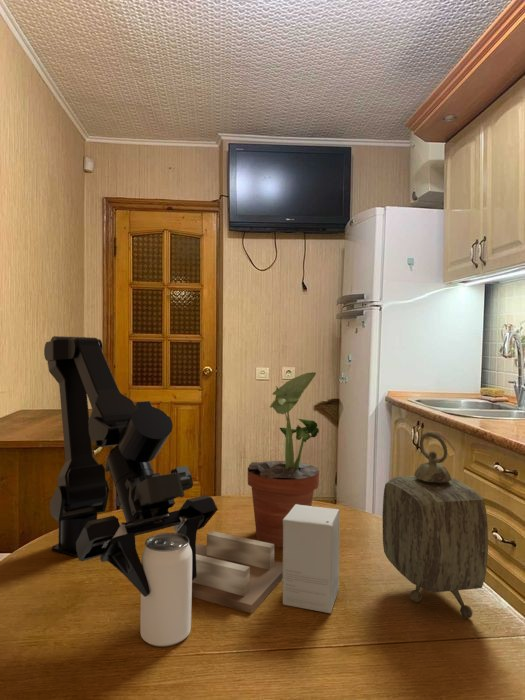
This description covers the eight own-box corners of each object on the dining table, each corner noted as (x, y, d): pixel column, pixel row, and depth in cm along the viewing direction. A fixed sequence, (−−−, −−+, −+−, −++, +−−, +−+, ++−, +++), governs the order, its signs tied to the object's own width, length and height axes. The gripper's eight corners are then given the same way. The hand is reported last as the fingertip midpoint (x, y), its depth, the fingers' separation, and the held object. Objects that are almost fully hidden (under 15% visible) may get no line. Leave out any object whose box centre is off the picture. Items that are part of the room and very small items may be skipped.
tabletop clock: (486, 624, 65) (490, 442, 65) (426, 631, 63) (430, 443, 63) (428, 574, 79) (432, 424, 79) (378, 579, 77) (381, 425, 77)
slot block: (148, 584, 74) (148, 553, 74) (197, 550, 87) (197, 523, 87) (251, 613, 67) (252, 579, 67) (288, 571, 79) (289, 542, 79)
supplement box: (340, 590, 74) (341, 508, 74) (330, 615, 67) (332, 525, 67) (293, 581, 76) (295, 502, 76) (280, 605, 69) (282, 518, 69)
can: (180, 652, 58) (181, 554, 58) (131, 644, 59) (132, 548, 59) (197, 622, 64) (199, 533, 64) (153, 615, 66) (154, 529, 66)
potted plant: (336, 534, 96) (339, 359, 95) (289, 558, 84) (293, 360, 84) (276, 514, 106) (279, 357, 106) (227, 534, 94) (230, 357, 94)
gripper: (85, 457, 59) (120, 582, 50) (211, 440, 71) (257, 538, 62) (63, 504, 65) (92, 622, 56) (183, 481, 77) (221, 575, 68)
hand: (171, 586), depth 61 cm, fingers closed on can, 6 cm apart
